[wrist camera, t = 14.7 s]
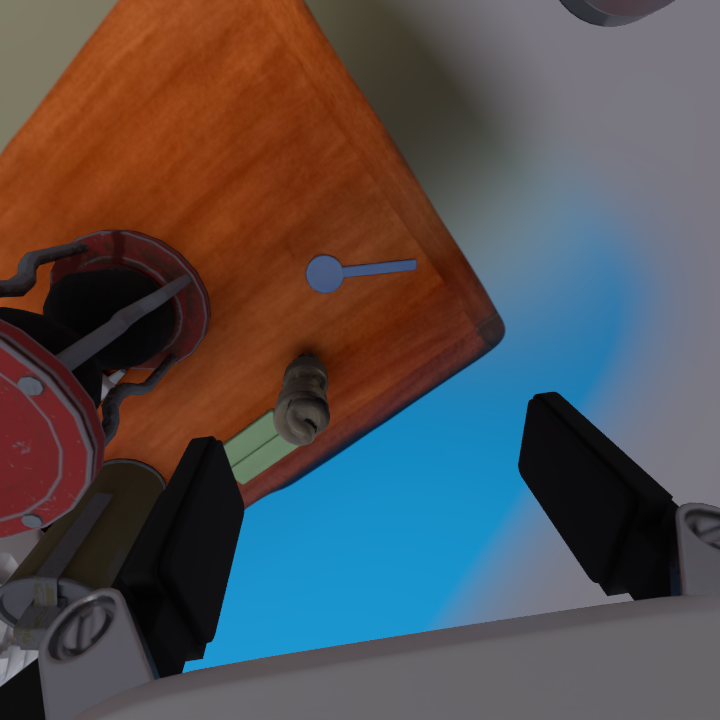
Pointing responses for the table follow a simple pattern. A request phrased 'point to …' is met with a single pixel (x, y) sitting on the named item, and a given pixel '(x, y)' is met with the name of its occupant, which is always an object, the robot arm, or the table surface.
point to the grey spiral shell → (302, 401)
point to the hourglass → (84, 362)
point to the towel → (256, 448)
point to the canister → (80, 549)
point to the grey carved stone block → (3, 559)
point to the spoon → (347, 271)
